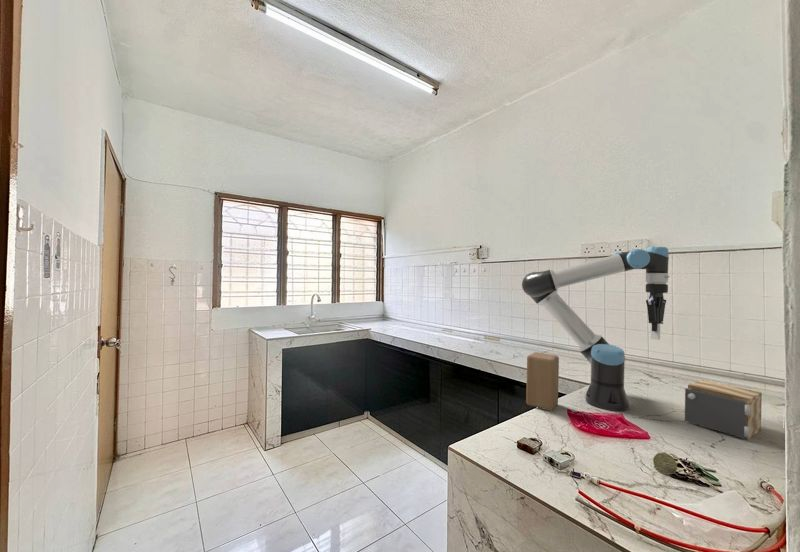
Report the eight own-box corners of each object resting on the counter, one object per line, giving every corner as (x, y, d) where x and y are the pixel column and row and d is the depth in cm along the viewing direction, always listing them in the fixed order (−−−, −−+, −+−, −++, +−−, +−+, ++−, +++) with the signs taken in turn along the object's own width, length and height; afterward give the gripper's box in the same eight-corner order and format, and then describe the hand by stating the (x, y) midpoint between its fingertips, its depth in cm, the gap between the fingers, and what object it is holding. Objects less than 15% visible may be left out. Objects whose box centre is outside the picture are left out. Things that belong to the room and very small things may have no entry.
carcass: (747, 439, 108) (748, 399, 108) (686, 420, 122) (686, 385, 122) (760, 430, 115) (761, 392, 115) (701, 413, 129) (702, 379, 129)
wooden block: (533, 398, 141) (534, 351, 141) (558, 404, 135) (559, 355, 135) (525, 405, 133) (526, 355, 133) (551, 411, 127) (552, 359, 127)
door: (747, 441, 105) (748, 404, 105) (682, 421, 119) (683, 389, 119) (750, 438, 107) (750, 403, 107) (686, 419, 121) (686, 388, 121)
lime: (679, 479, 85) (679, 459, 85) (656, 474, 87) (657, 455, 87) (672, 470, 90) (673, 451, 90) (651, 465, 91) (651, 447, 91)
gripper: (660, 283, 134) (658, 341, 134) (674, 283, 141) (673, 339, 141) (639, 283, 141) (638, 338, 141) (653, 283, 147) (652, 336, 147)
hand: (655, 338), depth 141 cm, fingers closed
